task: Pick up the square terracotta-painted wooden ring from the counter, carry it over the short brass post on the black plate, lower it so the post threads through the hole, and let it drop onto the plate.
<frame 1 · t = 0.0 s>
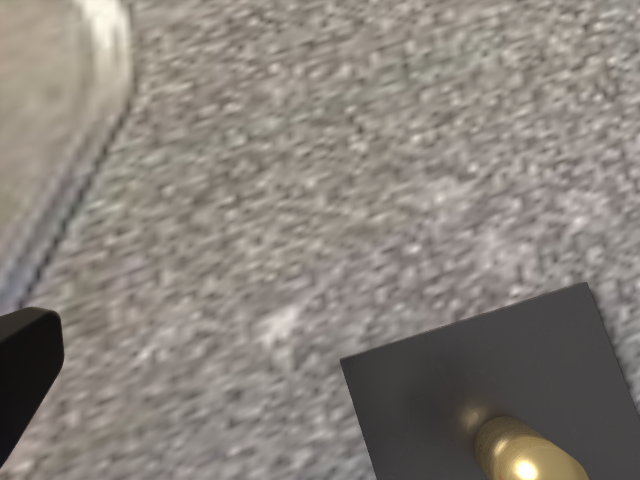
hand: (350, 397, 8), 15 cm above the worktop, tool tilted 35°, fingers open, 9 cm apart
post: (502, 445, 22), on the worktop
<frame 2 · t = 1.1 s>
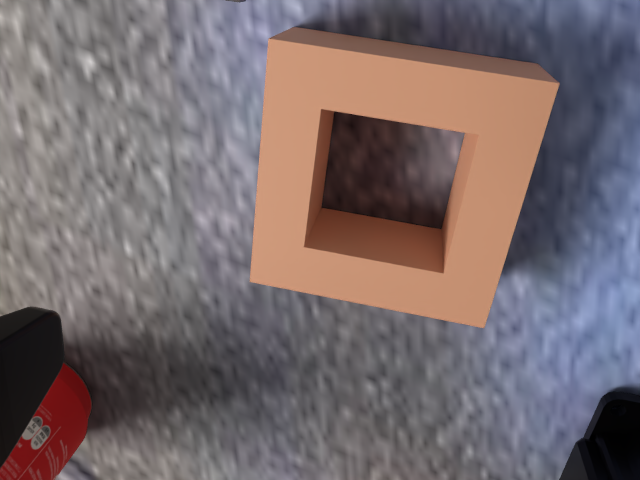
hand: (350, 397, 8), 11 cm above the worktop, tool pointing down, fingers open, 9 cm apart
beverage can: (47, 388, 25), on the worktop
ring: (391, 160, 18), on the worktop
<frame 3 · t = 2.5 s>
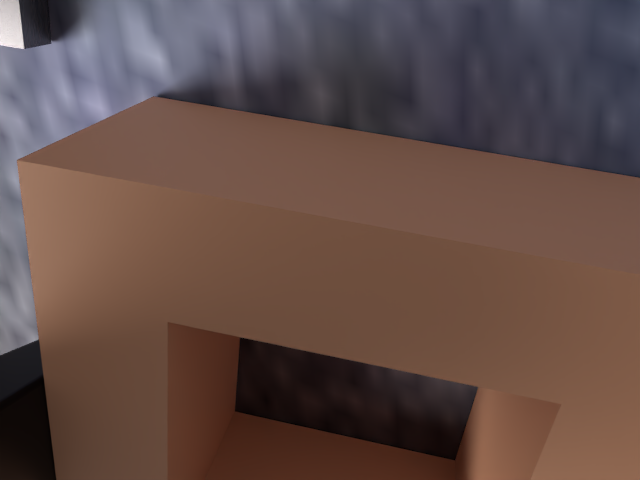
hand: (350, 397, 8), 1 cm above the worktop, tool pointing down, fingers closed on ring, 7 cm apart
ring: (359, 345, 9), on the worktop, touching gripper
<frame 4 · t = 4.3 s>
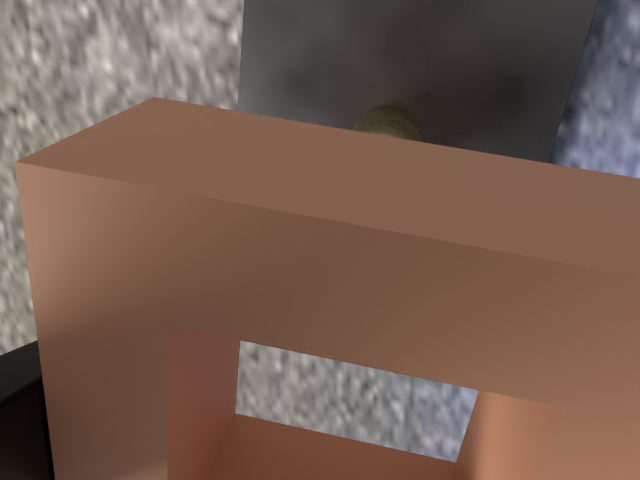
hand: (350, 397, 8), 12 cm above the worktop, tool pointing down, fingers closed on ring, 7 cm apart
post: (387, 140, 19), on the worktop
ring: (360, 347, 9), point 11 cm above the worktop, touching gripper
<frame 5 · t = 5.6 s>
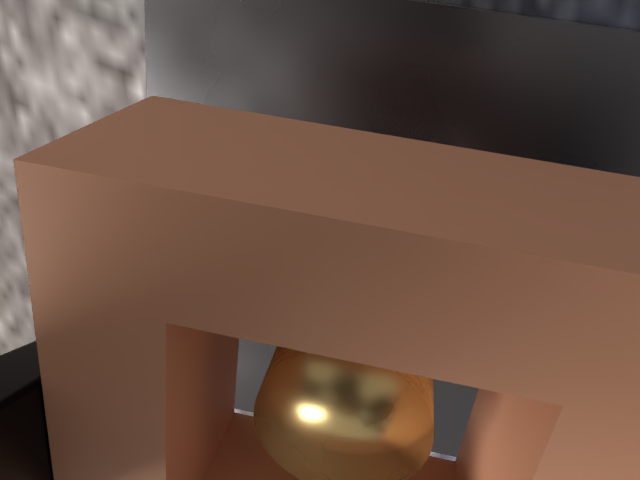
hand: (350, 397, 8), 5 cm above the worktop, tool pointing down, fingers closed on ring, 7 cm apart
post: (376, 244, 13), on the worktop
ring: (359, 346, 9), point 4 cm above the worktop, touching gripper
when the fingers open (4 cm above the worktop, at t = 6.6 s): ring drops 3 cm, resting on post.
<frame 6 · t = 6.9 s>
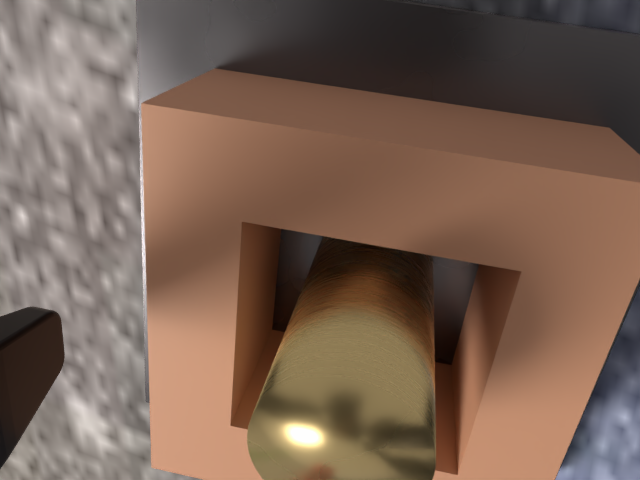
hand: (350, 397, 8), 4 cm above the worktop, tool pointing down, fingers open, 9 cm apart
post: (375, 254, 12), on the worktop
ring: (374, 268, 12), point 1 cm above the worktop, touching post
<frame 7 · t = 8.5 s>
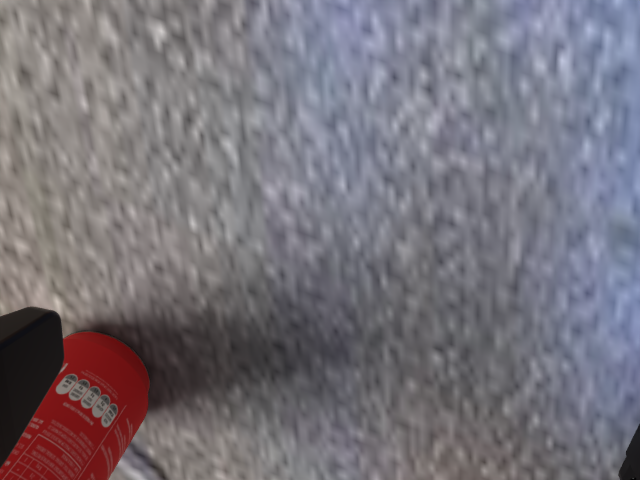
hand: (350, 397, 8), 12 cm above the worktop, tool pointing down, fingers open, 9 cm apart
beverage can: (104, 369, 25), on the worktop
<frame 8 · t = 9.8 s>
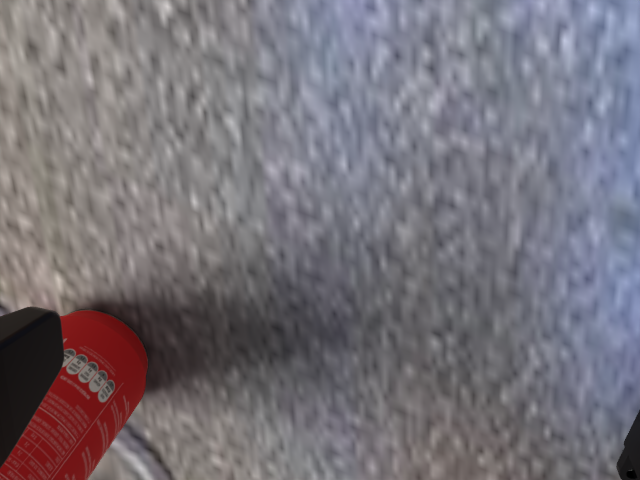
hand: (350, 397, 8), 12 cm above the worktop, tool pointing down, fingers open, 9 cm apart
beverage can: (103, 349, 25), on the worktop
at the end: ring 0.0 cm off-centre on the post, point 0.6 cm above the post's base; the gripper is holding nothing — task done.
